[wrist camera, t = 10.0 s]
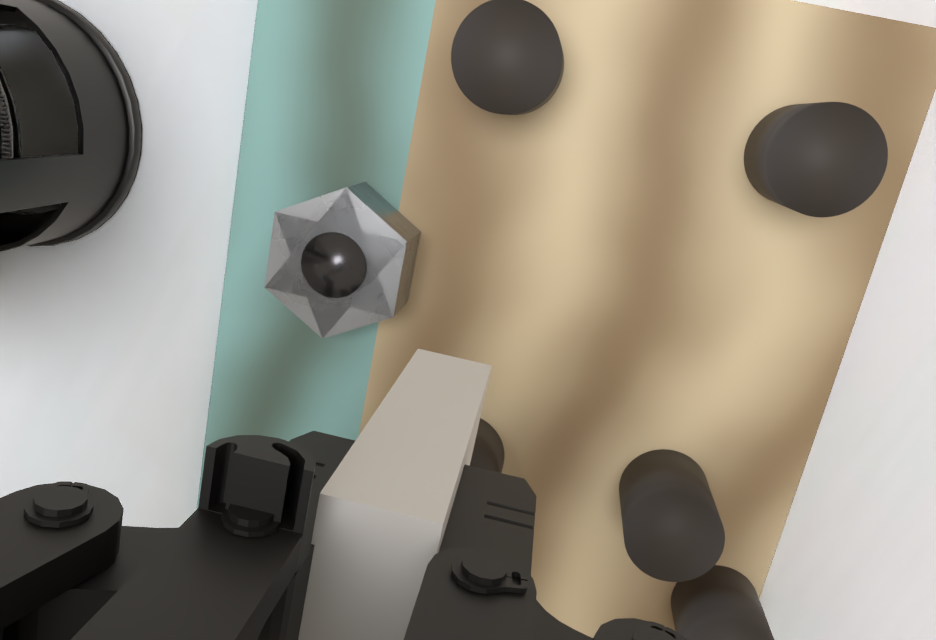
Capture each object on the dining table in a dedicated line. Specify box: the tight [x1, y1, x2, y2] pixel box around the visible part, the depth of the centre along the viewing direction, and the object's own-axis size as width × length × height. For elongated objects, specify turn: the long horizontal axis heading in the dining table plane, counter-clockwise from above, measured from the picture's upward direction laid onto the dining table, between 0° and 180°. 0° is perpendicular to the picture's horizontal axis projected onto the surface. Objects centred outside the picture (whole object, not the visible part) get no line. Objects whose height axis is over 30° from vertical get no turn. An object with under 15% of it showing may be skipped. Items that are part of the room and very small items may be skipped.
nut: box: [264, 182, 421, 339], centre depth 27 cm, size 5×4×2 cm
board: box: [197, 0, 936, 640], centre depth 27 cm, size 22×25×4 cm
